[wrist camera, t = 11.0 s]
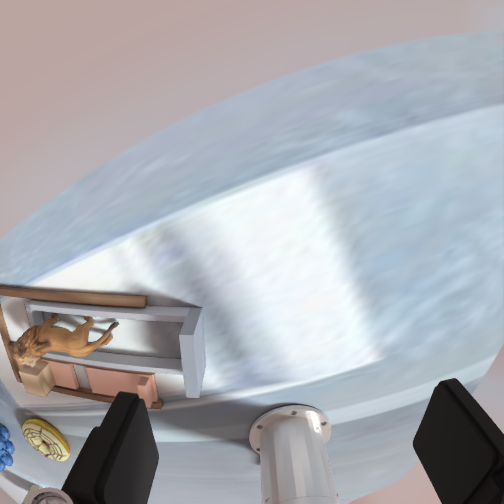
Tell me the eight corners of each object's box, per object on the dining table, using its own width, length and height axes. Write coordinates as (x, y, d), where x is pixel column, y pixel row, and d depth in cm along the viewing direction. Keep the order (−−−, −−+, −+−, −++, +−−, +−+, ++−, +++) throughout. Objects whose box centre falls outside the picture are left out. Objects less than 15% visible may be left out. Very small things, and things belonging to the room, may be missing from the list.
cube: (56, 383, 40) (45, 397, 36) (38, 378, 40) (26, 392, 36) (49, 362, 39) (36, 376, 35) (31, 358, 39) (18, 371, 35)
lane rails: (162, 404, 42) (161, 409, 41) (20, 377, 41) (17, 381, 40) (146, 296, 38) (143, 299, 36) (-7, 285, 37) (-12, 287, 36)
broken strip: (158, 397, 41) (153, 410, 39) (25, 373, 41) (16, 382, 38) (153, 371, 40) (147, 384, 37) (16, 350, 40) (7, 358, 37)
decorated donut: (52, 453, 47) (45, 464, 43) (20, 417, 44) (11, 427, 41) (81, 451, 46) (74, 464, 42) (46, 412, 44) (37, 424, 40)
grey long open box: (206, 365, 40) (199, 398, 33) (46, 347, 40) (23, 371, 33) (202, 307, 38) (193, 335, 31) (34, 297, 38) (6, 316, 31)
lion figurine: (48, 346, 40) (18, 376, 31) (35, 314, 38) (1, 341, 30) (126, 337, 39) (101, 374, 30) (113, 300, 38) (82, 332, 29)
